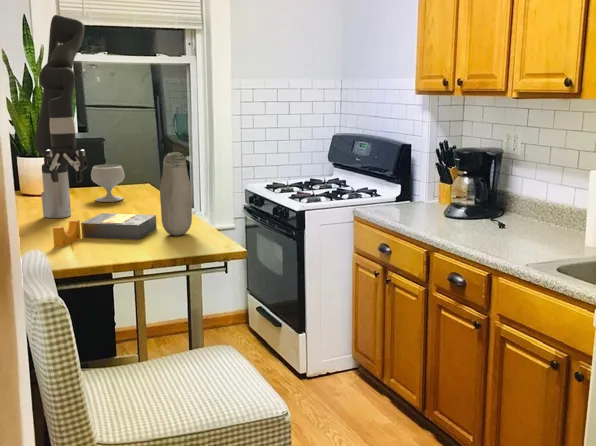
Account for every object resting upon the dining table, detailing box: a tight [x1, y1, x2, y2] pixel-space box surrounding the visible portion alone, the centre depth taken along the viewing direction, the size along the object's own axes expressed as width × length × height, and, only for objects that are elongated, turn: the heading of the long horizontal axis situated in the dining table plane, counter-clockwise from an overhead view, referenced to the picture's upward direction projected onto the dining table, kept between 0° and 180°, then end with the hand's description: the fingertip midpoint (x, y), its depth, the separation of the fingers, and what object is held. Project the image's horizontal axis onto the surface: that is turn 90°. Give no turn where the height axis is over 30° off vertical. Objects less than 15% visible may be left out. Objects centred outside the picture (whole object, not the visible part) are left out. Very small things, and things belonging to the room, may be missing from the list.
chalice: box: [90, 163, 126, 203], centre depth 279 cm, size 14×14×15 cm
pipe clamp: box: [52, 219, 82, 249], centre depth 207 cm, size 12×4×6 cm, turn 170°
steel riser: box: [80, 212, 158, 241], centre depth 220 cm, size 20×16×5 cm
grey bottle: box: [159, 151, 193, 236], centre depth 216 cm, size 10×10×28 cm
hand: (67, 182), depth 209 cm, fingers open, 8 cm apart
